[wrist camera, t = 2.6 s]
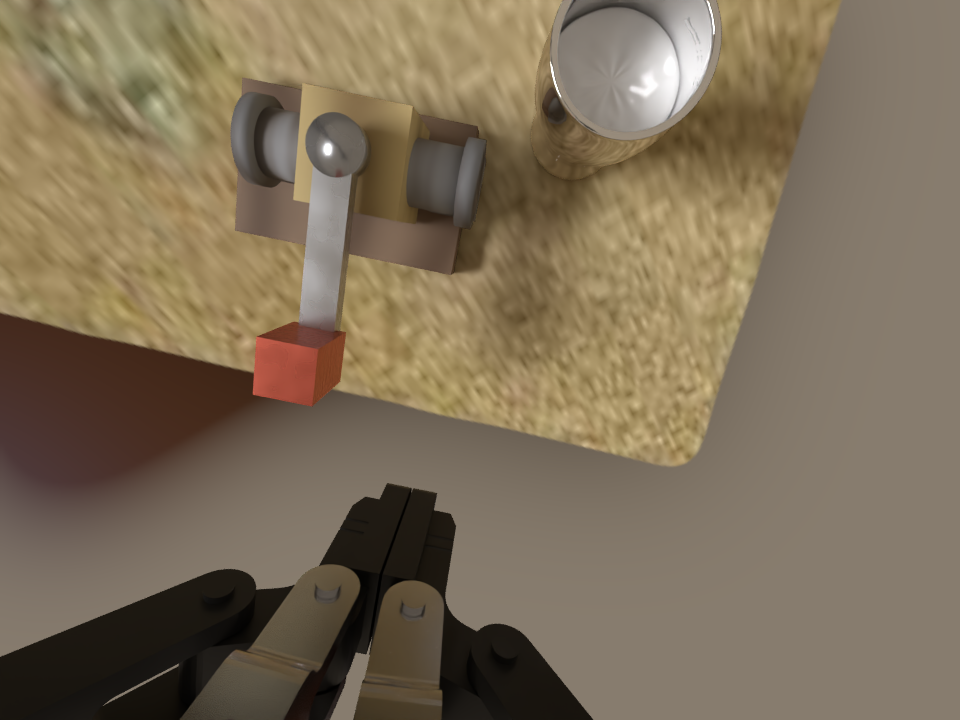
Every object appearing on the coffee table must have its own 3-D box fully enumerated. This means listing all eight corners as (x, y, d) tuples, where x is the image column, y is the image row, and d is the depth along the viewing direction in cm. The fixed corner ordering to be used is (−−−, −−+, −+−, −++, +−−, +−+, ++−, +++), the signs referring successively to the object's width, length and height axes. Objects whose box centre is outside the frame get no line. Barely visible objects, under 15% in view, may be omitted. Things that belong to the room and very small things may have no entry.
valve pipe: (250, 231, 34) (159, 228, 25) (258, 87, 32) (159, 26, 23) (466, 275, 35) (453, 289, 25) (492, 136, 32) (489, 95, 23)
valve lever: (317, 112, 23) (272, 82, 19) (374, 124, 23) (343, 97, 19) (294, 375, 27) (252, 403, 22) (343, 385, 27) (311, 415, 22)
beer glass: (517, 91, 31) (531, -37, 17) (618, 68, 30) (724, -85, 16) (532, 195, 33) (557, 161, 18) (628, 176, 32) (732, 126, 18)
